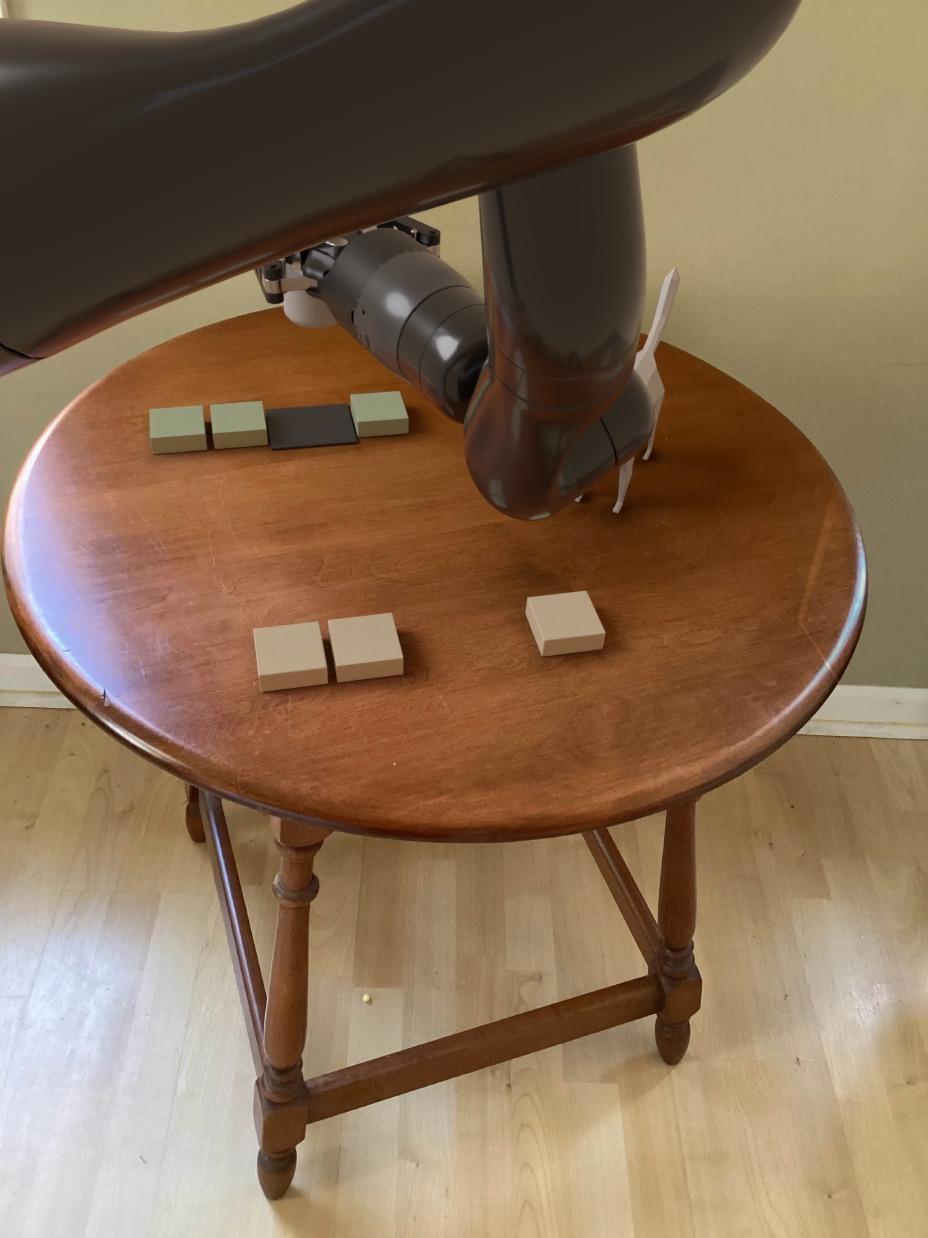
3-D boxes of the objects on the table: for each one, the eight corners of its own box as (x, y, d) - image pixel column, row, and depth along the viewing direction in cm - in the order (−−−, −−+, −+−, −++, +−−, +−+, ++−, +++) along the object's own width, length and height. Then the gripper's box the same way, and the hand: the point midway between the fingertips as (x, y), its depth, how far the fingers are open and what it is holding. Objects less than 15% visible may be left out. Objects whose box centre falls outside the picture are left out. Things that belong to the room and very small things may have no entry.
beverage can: (272, 322, 80) (259, 161, 72) (303, 297, 83) (293, 140, 75) (329, 336, 79) (321, 174, 71) (357, 310, 82) (353, 152, 74)
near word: (260, 692, 68) (258, 675, 67) (255, 645, 71) (253, 628, 70) (602, 649, 72) (606, 632, 71) (583, 606, 75) (586, 590, 74)
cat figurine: (552, 529, 82) (574, 369, 72) (624, 405, 95) (651, 257, 85) (606, 545, 80) (637, 385, 71) (671, 418, 94) (704, 269, 84)
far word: (152, 459, 85) (149, 443, 84) (152, 419, 90) (149, 403, 89) (410, 438, 90) (410, 422, 88) (398, 401, 94) (398, 385, 93)
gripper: (504, 232, 68) (378, 147, 78) (305, 276, 62) (196, 178, 72) (497, 337, 73) (379, 244, 83) (312, 387, 67) (209, 281, 77)
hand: (294, 214), depth 78 cm, fingers closed on beverage can, 5 cm apart
